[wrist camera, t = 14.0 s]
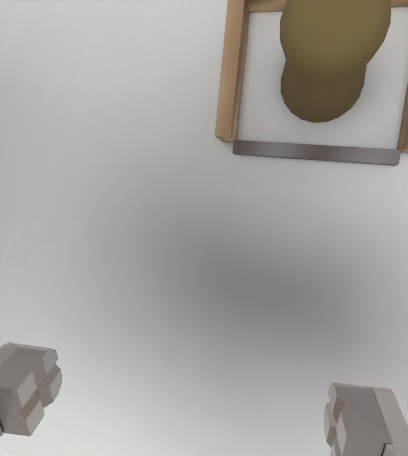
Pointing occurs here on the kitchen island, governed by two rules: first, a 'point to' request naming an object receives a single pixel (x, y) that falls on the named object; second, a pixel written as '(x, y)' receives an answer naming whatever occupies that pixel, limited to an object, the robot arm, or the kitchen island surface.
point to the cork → (329, 53)
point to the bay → (231, 95)
